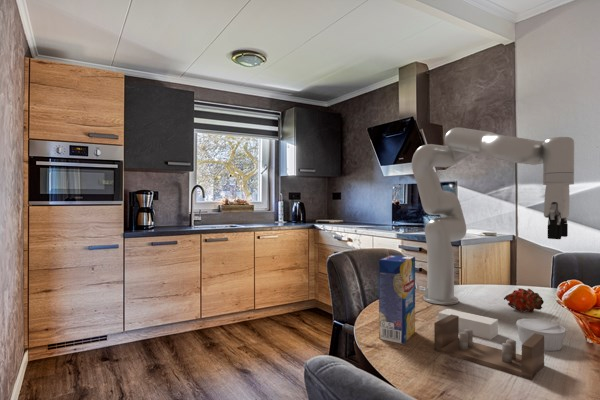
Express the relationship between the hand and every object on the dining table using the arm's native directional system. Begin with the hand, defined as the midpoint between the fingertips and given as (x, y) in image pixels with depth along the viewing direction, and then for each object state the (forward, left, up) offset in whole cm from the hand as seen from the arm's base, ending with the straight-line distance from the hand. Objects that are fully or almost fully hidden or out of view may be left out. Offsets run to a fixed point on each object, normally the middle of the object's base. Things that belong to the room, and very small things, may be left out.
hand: (557, 237), depth 110 cm
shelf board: (-19, -19, -28) cm, 38 cm away
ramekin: (-1, -16, -28) cm, 32 cm away
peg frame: (-8, -35, -28) cm, 45 cm away
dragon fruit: (-13, +14, -28) cm, 34 cm away
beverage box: (-31, -37, -28) cm, 56 cm away
